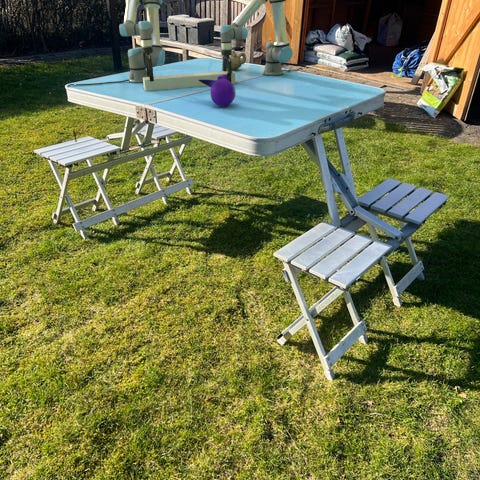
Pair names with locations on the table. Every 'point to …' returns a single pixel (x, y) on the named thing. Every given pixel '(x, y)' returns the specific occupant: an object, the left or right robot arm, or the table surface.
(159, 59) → the left robot arm
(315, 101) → the table surface
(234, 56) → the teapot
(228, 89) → the toy
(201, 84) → the thick block
